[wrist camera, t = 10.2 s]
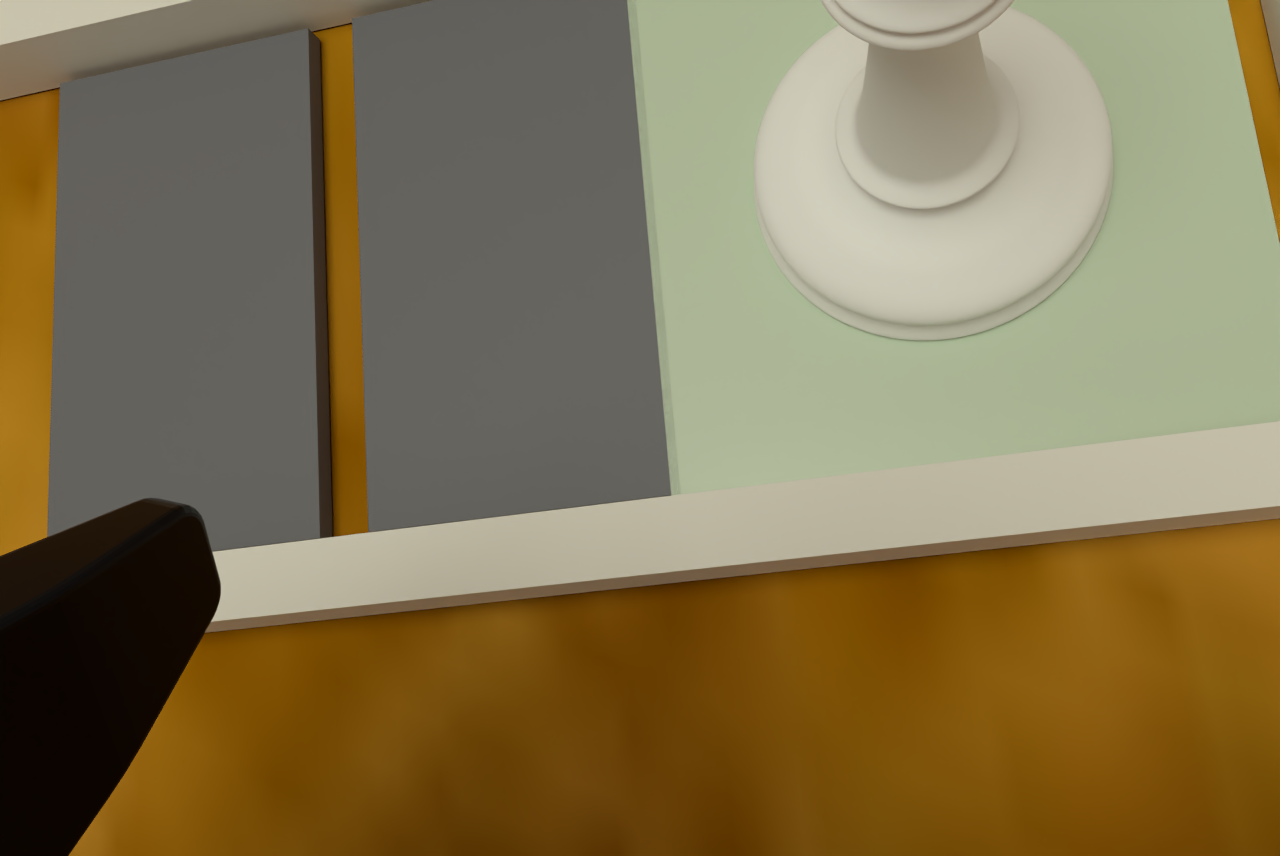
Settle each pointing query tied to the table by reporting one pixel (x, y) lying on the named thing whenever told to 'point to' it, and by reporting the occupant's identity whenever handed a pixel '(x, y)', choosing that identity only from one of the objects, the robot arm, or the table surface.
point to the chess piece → (932, 166)
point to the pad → (986, 361)
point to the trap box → (448, 323)
